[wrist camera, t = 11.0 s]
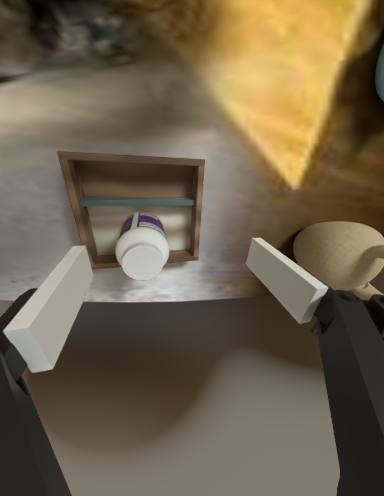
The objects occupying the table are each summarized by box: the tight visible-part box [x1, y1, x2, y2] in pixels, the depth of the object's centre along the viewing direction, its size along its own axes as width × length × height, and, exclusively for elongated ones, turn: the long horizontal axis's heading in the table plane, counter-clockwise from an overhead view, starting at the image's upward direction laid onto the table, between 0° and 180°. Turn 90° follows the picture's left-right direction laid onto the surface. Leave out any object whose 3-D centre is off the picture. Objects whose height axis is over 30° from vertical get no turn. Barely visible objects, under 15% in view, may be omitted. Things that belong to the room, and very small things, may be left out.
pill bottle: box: [115, 211, 169, 280], centre depth 29 cm, size 8×8×14 cm
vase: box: [293, 221, 384, 300], centre depth 36 cm, size 17×17×30 cm
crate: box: [57, 151, 205, 269], centre depth 33 cm, size 20×22×4 cm
